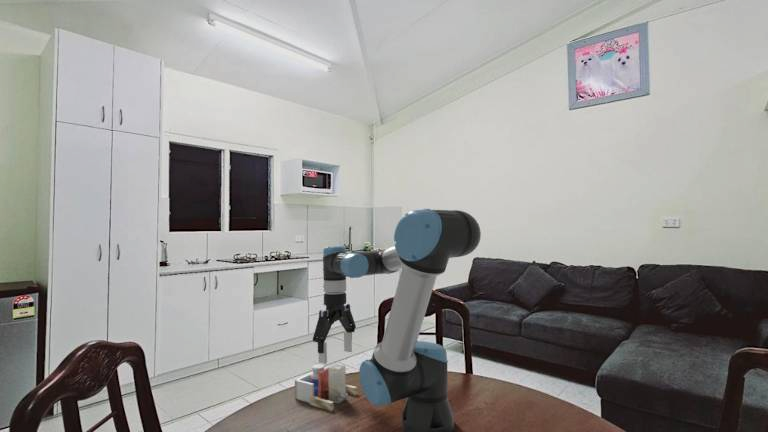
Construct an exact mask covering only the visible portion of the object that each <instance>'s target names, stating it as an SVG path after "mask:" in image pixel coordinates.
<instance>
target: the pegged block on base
mask: <svg viewBox="0 0 768 432" xmlns="http://www.w3.org/2000/svg"><path fill="white" fill-rule="evenodd" d="M346 372H347V370H346V365H345V364H340V363H335V364H333V365H330V366H328V367H327V368H324V370H322V371H320V372H318V398H322V399H326V398H327V397H328V400H329V401H332V402H334V404H337V405H339V404H340V403H342V402H343V401H345V400H346V401H347V400H348V399H349V395H350V394H348V393H346V384H347V380H346Z"/></svg>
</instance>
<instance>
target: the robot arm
mask: <svg viewBox="0 0 768 432" xmlns="http://www.w3.org/2000/svg"><path fill="white" fill-rule="evenodd" d="M480 227H481V226H480V225H479V223H478V221H477V220H476V219H475V218H474V217H473V215H471V214H470V213H468V212H465V211H463V210H458V209H457V210H456V209H455V210H454V209H453V210H451V209H450V210H448V209H430V208H422V209H413V210H410V211H409V212H407V213H405V214H404V215H403V216H402V217H401V218H400V219H399V221H398V222H397V225H396V227H395V231H394V235H393V236H394V237H393V240H394V242H395V244H394V245H393V246H391V247H388V248H385V249H383V250H380V251H365V252H364V251H363V252H346V248H345V246H341V245H340V246H338V245H337V246H335V245H334V246H325V247H324V248H323V254H322V269H323V270H322V271H323V273H322V274H323V292H324V294H323V305H325V306H326V307H325V310H324V309H320V310H319V312H318V319H317V323H316V326H315V330H314V333H313V336H312V342H313V343H316V344H317V353H318V364H322V365H325V364H328V356H327V355H328V351H327V349H328V347H327V346H328V345H327V341H326V340H327V337H328V336H329V335H328V334H329V332H330V330H331V328H332V325H334V324H335V322H338V321H339V323H340V324H341V326H342V327H343V329H344V332H343V347H344V348H343V351H344V352H346V353H352V351H353V350H352V347H353V345H352V343H353V342H352V341H353V333H355V329H356V328H357V327H356V323H355V320H354V317H353V316H354V315H353V314H352V311H351V305H350V303H347V293H346V291H347V278H350V279H357V278H358V279H359V278H361V277H362V278H363V277H364V276H372V275H384V274H387V275H388V274H389V275H390V274H394V273H397V272H399V270H401V271H400V275H399V279H398V283H397V286H396V290H395V294H394V297H393V299H392V304H391V308H390V312H389V316H388V318H387V321H386V322H387V323H386V327H385V330H384V332H383V338H382V341H381V342H378V344H376V345H375V347H374V349H373V352H372V357H371V358H370V359H365V360H364V361H362V362H361V364H360V366H359V371H358V372H359V373H358V376H359V377H358V378H359V381H360V383H359V384H360V385H361V389H362V391H363V394H364V395H365V397H366V399H367V400H368V402H370V403H371V404H372V405H374V406H375V407H381V406H389V405H390V404H392V403H393V404H394V403H395V402H396V403H397V402H398V401H401V400H404V399H406V400H405V402H404V405H403V410H402V412H401V417H400V418H401V419H400V421H401V422H400V425H401V428H402V430H403V431H405V432H453V431H454V429H455V418H454V414H453V412H452V408H451V406H450V401H449V399H448V363H449V361H448V357H447V355H448V354H447V349H446V347H444V346H442V345H441V344H438V343H434V342H430V341H422V340H418V339H419V335H420V332H421V329H422V327H423V326H422V325H423V322H424V320H425V316H426V314H427V308H428V306H429V303H430V299H431V296H432V293H433V289H434V286H435V283H436V280H437V276H440V275H442V274H444V273H445V272H446V269H447V266H448V263H449V260H450V259H452V258H460V257H464V256H467V255H469V254H472V253H473V252H474V251H475V250H476V249H477V247H478V246H479V244H480V240H481V238H482V237H481V233H482V232H481V228H480Z"/></svg>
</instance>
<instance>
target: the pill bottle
mask: <svg viewBox="0 0 768 432" xmlns="http://www.w3.org/2000/svg"><path fill="white" fill-rule="evenodd" d="M311 369H312V371H311V372H312V373H311V372H310V373H311V374H310V383H313V384H314V397H318V372H320V371H322V370H324V369H325V364H323V363H317V364H314V365H312V368H311Z"/></svg>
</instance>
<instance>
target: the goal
mask: <svg viewBox="0 0 768 432" xmlns="http://www.w3.org/2000/svg"><path fill="white" fill-rule="evenodd" d="M312 372H313V371H311V372H309V373H307V374H304V375H303V376H301V377H299V378H297V379H294V399H296V400H299V401H303V402H306V403H309V404H310V397H311V396H314V384H313V383H310V374H311V373H312Z"/></svg>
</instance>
